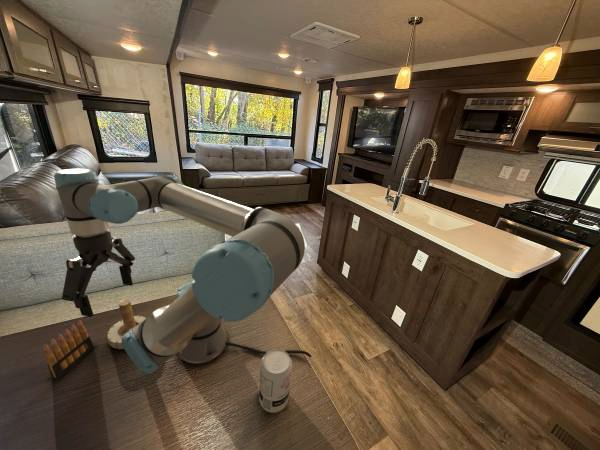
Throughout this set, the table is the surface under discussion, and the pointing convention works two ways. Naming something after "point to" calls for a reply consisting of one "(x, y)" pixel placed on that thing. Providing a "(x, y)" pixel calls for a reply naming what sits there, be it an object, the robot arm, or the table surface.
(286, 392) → the supplement can
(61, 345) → the ammunition clip
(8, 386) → the table surface
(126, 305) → the post stand
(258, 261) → the robot arm
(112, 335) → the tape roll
